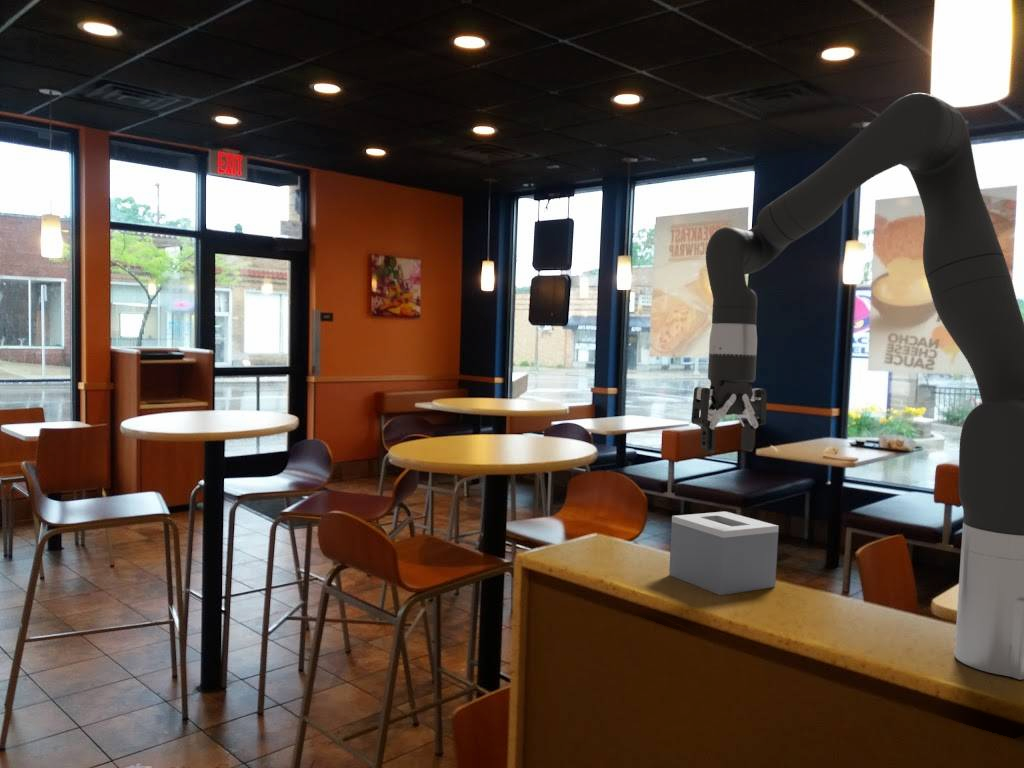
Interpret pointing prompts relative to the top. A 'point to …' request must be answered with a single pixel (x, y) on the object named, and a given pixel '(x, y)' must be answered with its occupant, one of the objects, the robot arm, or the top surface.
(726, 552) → the coin box
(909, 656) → the top surface
